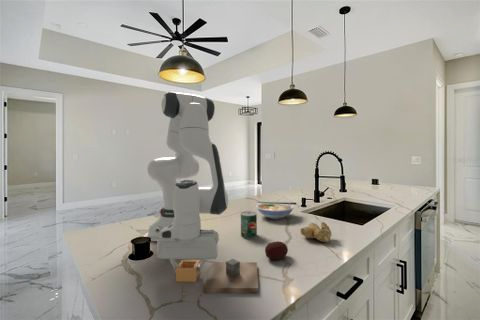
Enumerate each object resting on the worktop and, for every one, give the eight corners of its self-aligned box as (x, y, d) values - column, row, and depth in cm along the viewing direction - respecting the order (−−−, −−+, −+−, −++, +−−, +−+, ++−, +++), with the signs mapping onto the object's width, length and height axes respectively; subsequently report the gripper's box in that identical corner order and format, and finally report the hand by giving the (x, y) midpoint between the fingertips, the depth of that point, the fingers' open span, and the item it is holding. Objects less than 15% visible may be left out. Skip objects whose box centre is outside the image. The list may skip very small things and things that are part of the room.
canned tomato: (255, 239, 112) (255, 216, 111) (239, 238, 113) (239, 215, 113) (257, 233, 120) (257, 211, 119) (242, 232, 121) (242, 211, 121)
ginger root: (321, 246, 99) (318, 225, 101) (293, 243, 113) (290, 225, 114) (344, 239, 108) (341, 220, 110) (316, 237, 121) (313, 220, 123)
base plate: (204, 292, 70) (203, 274, 70) (212, 266, 86) (212, 251, 86) (258, 293, 69) (258, 274, 69) (256, 266, 85) (256, 251, 85)
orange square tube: (176, 281, 76) (175, 269, 76) (181, 271, 83) (181, 260, 83) (195, 281, 76) (195, 269, 76) (200, 271, 82) (199, 260, 82)
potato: (260, 257, 93) (260, 242, 92) (280, 251, 98) (280, 236, 98) (272, 265, 86) (272, 248, 86) (293, 258, 92) (293, 242, 91)
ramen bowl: (250, 221, 139) (250, 207, 139) (259, 211, 161) (259, 199, 161) (294, 224, 132) (294, 210, 132) (296, 214, 154) (296, 201, 154)
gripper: (219, 226, 81) (220, 266, 82) (161, 226, 82) (162, 265, 83) (217, 233, 75) (218, 275, 76) (153, 233, 76) (155, 275, 77)
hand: (188, 270), depth 79 cm, fingers closed on orange square tube, 6 cm apart
